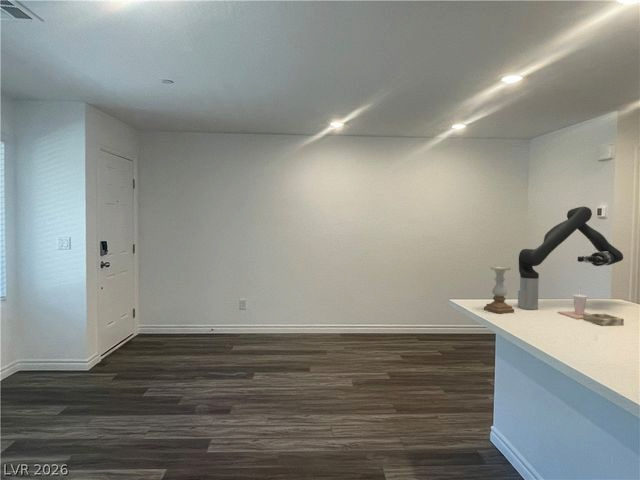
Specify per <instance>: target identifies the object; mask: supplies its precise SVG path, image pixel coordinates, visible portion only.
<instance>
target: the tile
mask: <svg viewBox="0 0 640 480" xmlns="http://www.w3.org/2000/svg"><path fill="white" fill-rule="evenodd" d="M557 314H559V315H561V316H566V317H568V318H571V319H574V320H583V315H577V314H575V310H573V311H572V310H571V311H567V310H566V311H563V310H562V311H557ZM584 314H591V313H590V312H586V311H584Z"/></svg>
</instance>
